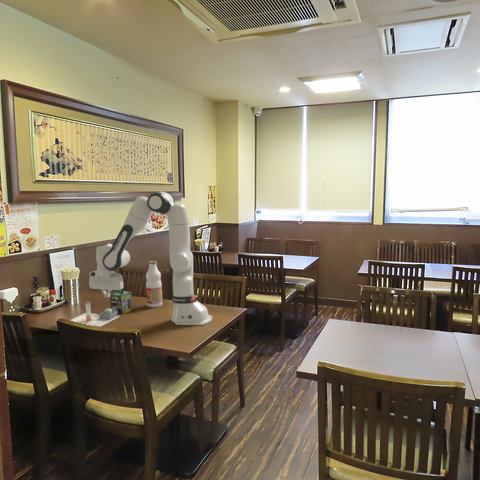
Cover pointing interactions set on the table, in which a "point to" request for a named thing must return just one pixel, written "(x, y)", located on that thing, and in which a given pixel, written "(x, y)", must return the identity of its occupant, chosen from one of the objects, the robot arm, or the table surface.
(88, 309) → the marker
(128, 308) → the chalk box
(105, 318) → the board
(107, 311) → the button
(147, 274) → the fruit juice
